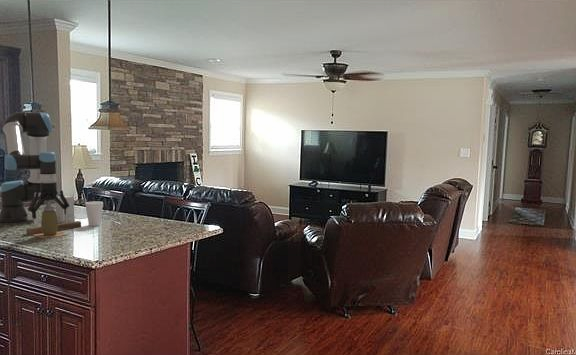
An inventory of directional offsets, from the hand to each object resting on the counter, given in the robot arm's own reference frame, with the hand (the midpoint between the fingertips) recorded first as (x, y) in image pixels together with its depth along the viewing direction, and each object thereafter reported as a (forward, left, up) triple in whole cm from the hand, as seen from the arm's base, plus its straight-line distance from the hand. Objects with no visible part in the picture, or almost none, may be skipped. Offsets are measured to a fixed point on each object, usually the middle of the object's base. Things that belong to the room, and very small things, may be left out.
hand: (49, 222), depth 244 cm
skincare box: (-25, +21, -7) cm, 33 cm away
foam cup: (-7, +29, -7) cm, 31 cm away
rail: (-2, +7, -6) cm, 10 cm away
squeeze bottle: (0, 0, -6) cm, 6 cm away
